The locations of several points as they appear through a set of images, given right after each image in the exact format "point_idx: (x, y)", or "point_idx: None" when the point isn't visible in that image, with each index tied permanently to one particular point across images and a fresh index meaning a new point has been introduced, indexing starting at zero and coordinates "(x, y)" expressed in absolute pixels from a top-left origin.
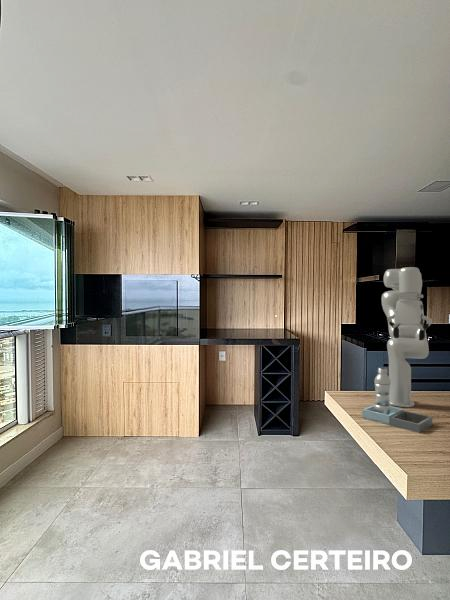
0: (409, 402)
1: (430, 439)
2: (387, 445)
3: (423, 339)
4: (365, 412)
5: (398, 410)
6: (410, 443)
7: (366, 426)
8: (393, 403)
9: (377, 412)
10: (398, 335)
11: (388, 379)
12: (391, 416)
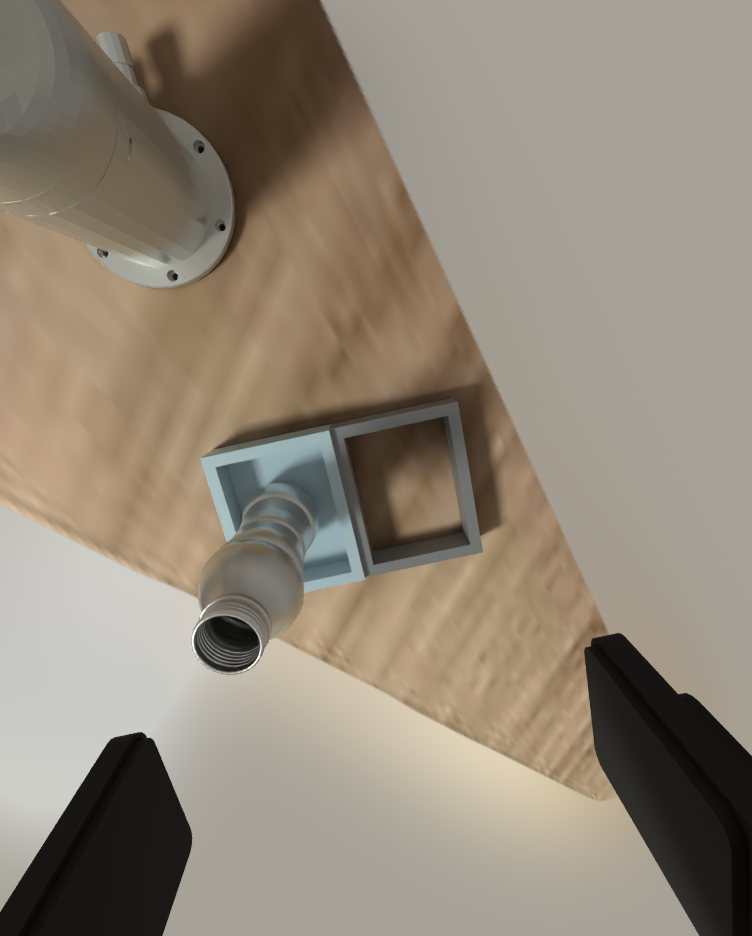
0: (208, 191)
1: (528, 561)
2: (479, 716)
3: (620, 639)
4: None
5: (331, 472)
6: (509, 647)
7: (334, 646)
8: (171, 284)
9: (308, 582)
10: (135, 791)
11: (294, 601)
12: (362, 560)
